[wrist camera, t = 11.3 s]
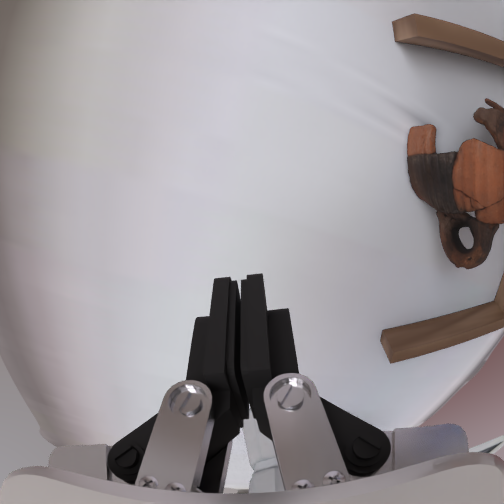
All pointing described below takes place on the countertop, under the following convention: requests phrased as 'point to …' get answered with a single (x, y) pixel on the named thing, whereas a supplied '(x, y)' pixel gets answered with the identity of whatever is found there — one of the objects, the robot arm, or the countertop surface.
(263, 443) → the coffee maker
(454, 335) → the frame
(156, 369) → the countertop surface
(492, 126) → the pottery mug
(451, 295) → the countertop surface
